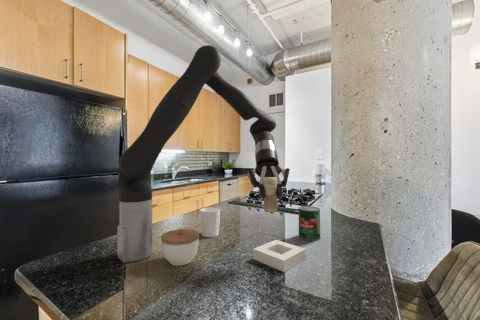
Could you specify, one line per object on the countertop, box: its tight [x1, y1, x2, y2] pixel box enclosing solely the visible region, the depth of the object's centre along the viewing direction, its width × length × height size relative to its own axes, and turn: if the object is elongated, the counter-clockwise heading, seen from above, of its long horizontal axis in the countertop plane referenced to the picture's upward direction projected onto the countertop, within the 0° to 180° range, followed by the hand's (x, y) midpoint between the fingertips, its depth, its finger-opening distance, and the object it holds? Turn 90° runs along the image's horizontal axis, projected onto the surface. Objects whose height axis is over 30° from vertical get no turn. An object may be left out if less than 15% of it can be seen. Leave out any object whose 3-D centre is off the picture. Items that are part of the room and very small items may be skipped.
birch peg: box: [263, 177, 279, 213], centre depth 67 cm, size 4×4×10 cm
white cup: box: [199, 206, 221, 238], centre depth 88 cm, size 8×8×10 cm
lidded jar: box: [160, 227, 200, 267], centre depth 65 cm, size 11×11×9 cm
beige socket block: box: [252, 239, 307, 273], centre depth 66 cm, size 11×11×3 cm
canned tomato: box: [297, 205, 322, 242], centre depth 85 cm, size 8×8×11 cm
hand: (271, 196), depth 65 cm, fingers closed on birch peg, 4 cm apart
